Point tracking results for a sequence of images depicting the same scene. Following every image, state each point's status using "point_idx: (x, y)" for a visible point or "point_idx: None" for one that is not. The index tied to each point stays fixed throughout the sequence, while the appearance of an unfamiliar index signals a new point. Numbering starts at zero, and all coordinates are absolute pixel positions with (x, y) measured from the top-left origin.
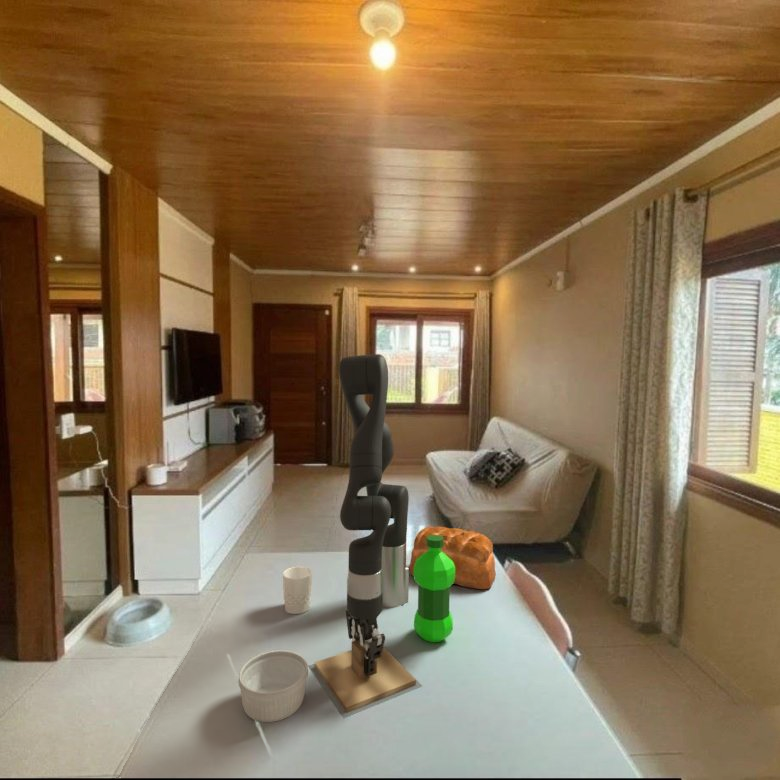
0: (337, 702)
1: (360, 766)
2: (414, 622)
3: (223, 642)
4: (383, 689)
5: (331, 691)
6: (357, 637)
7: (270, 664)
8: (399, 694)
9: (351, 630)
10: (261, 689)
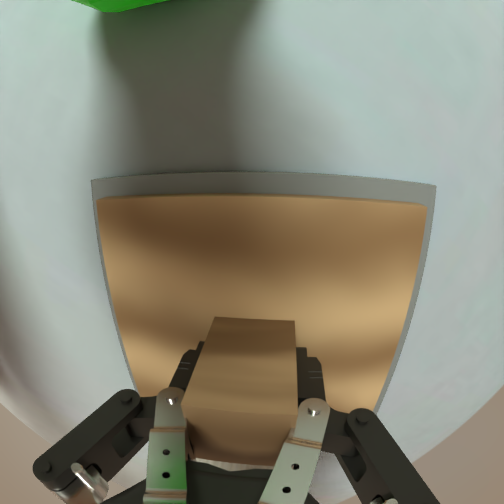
0: None
1: (461, 418)
2: (94, 3)
3: (51, 434)
4: (386, 341)
5: None
6: (194, 457)
7: None
8: (417, 287)
9: (134, 451)
10: None
